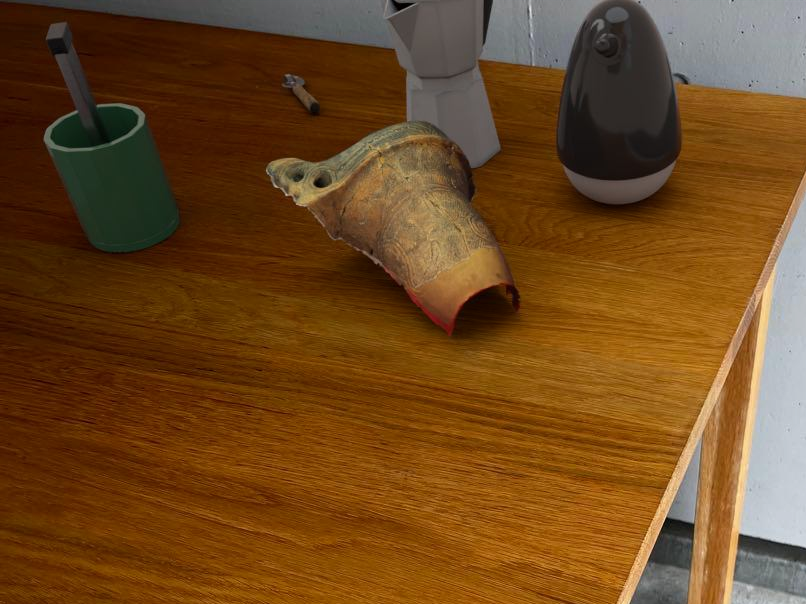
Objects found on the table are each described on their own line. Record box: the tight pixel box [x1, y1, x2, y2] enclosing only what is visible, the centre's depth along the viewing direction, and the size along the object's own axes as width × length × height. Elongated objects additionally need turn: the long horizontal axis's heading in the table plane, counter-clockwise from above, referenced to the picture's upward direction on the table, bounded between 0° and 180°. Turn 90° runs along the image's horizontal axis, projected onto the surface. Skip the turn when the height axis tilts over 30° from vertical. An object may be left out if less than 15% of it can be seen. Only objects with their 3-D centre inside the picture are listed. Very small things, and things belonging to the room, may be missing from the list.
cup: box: [43, 102, 181, 254], centre depth 87 cm, size 8×8×9 cm
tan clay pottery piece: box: [265, 121, 522, 338], centre depth 79 cm, size 17×11×18 cm
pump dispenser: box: [555, 0, 683, 205], centre depth 83 cm, size 10×10×15 cm
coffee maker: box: [379, 0, 502, 169], centre depth 89 cm, size 15×9×18 cm, turn 148°
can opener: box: [281, 73, 321, 114], centre depth 104 cm, size 9×2×1 cm, turn 22°
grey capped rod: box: [45, 21, 111, 147], centre depth 84 cm, size 1×3×16 cm, turn 10°
